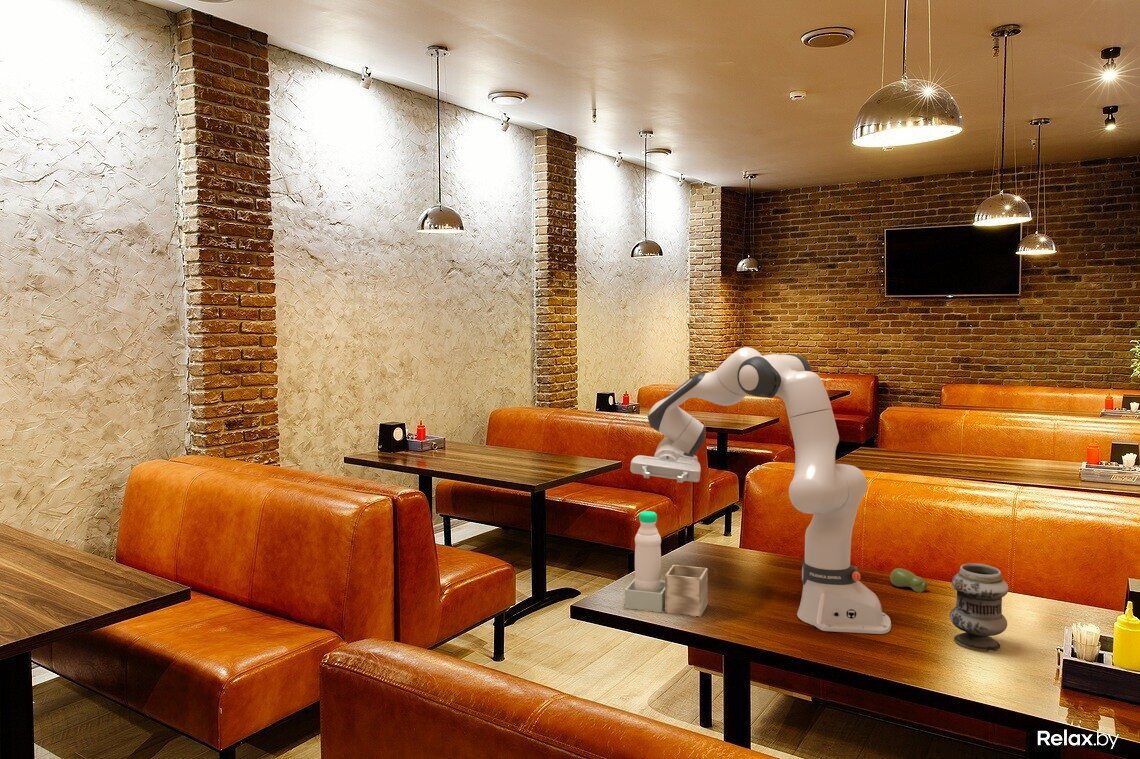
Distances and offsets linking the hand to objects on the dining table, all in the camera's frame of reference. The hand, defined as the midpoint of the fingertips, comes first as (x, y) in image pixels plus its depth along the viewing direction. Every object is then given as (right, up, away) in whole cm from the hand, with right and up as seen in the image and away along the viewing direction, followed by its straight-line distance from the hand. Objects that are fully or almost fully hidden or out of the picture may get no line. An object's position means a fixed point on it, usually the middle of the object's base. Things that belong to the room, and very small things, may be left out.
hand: (663, 477), depth 223 cm
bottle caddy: (-5, -33, -10) cm, 35 cm away
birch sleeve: (+5, -33, -14) cm, 36 cm away
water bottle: (-5, -33, -10) cm, 35 cm away
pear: (+70, -32, +2) cm, 77 cm away
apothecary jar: (+70, -35, -37) cm, 86 cm away
